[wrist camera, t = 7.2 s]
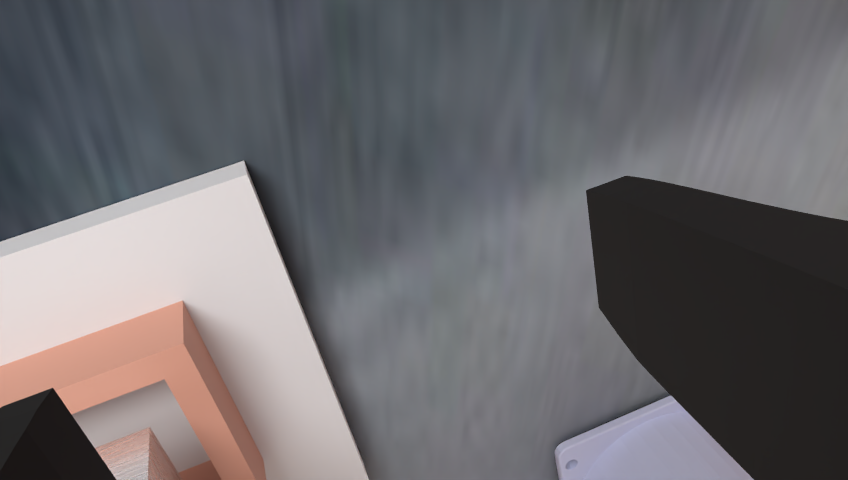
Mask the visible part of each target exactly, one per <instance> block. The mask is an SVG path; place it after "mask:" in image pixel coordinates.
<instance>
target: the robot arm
mask: <svg viewBox="0 0 848 480" xmlns="http://www.w3.org/2000/svg"><path fill="white" fill-rule="evenodd" d="M586 194H587V203H588V212H589V221H590V230H591V239H592V248H593V257H594V267H595V276H596V285H597V294H598V303H599V308H600V310H601V311H602V312H603V314H604V315H605V317H606V318H607V320H608V321H609V322H610V324H611V325H612V327H613V328H614V329H615V331H616V332H617V334H618V335H619V336H620V338H621V339H622V340H623V342H624V343H625V344H626V346H627V347H628V348H629V349H630V351H631V352H632V353H633V355H634V356H635V357H636V359H637V360H638V361H639V362H640V363H641V364H642V366H643V367H644V368H645V369H646V370H647V371H648V372H649V373H650V374H651V375H652V376H653V377H654V378H655V379H656V380H657V381H658V382H659V383H660V384H661V385H662V386H663V388H664V389H665V390H666V391H667V392H668V393H669V394H670V396H668V397H666V398H663V399H661V400H659V401H656V402H654V403H652V404H649V405H647V406H645V407H642V408H640V409H638V410H636V411H633V412H631V413H629V414H626V415H624V416H622V417H619V418H617V419H615V420H612V421H610V422H608V423H605V424H603V425H601V426H598V427H596V428H594V429H592V430H589V431H587V432H585V433H582V434H580V435H578V436H575V437H573V438H571V439H568V440H566V441H564V442H562V443H561V444H559V445H558V447H557V448H556V450H555V459H556V465H557V471H558V476H559V480H848V221H845V220H839V219H834V218H828V217H823V216H818V215H813V214H808V213H802V212H797V211H792V210H788V209H783V208H778V207H774V206H769V205H764V204H760V203H755V202H751V201H746V200H742V199H737V198H733V197H729V196H724V195H720V194H715V193H711V192H707V191H702V190H698V189H693V188H689V187H684V186H680V185H675V184H671V183H666V182H661V181H656V180H651V179H645V178H639V177H631V176H624V177H621V178H619V179H616V180H613V181H610V182H608V183H605V184H602V185H600V186H597V187H594V188H591V189H589V190H586ZM0 480H116V478H115V477H114V475H113V474H112V472H111V471H110V470H109V468H108V467H107V465H106V464H105V462H104V461H103V459H102V458H101V457H100V455H99V454H98V452H97V451H96V449H95V448H94V446H93V445H92V443H91V442H90V441H89V439H88V438H87V436H86V435H85V433H84V432H83V430H82V429H81V427H80V426H79V425H78V423H77V422H76V420H75V419H74V417H73V416H72V414H71V413H70V412H69V410H68V409H67V407H66V406H65V404H64V403H63V401H62V400H61V398H60V397H59V396H58V394H57V393H56V391H55V390H54V388H51V389H48V390H45V391H42V392H40V393H37V394H34V395H32V396H29V397H26V398H24V399H21V400H18V401H15V402H13V403H10V404H7V405H5V406H2V407H1V408H0Z"/></svg>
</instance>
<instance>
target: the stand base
mask: <svg viewBox="0 0 848 480" xmlns="http://www.w3.org/2000/svg"><path fill="white" fill-rule="evenodd" d="M51 388H54V390H55V391H56V393H57V394H58V396H59V397H60V398H61V400H62V401H63V403H64V404H65V406H66V407H67V409H68V410H69V412H70V413H71V414H72V416H73V417H74V419H75V420H76V422H77V423H78V425H79V426H80V427H81V429H82V430H83V432H84V433H85V435H86V436H87V438H88V439H89V441H90V442H91V443H92V445H93V446H94V448H96V447H99V446H101V445H104V444H106V443H109V442H112V441H114V440H117V439H119V438H122V437H124V436H127V435H130V434H132V433H135V432H137V431H140V430H143V429H145V428H148V427H150V428H151V429H152V431H153V433H154V434H155V436H156V437H157V439H158V441H159V442H160V444H161V446H162V447H163V449H164V451H165V452H166V454H167V455H168V457H169V459H170V460H171V462H172V464H173V465H174V467H175V468H176V470H177V472H178V473H179V475H180V477H181V478H182V480H369V478H368V475H367V472H366V469H365V466H364V463H363V460H362V458H361V455H360V452H359V450H358V447H357V445H356V442H355V440H354V437H353V435H352V432H351V430H350V427H349V425H348V422H347V420H346V417H345V415H344V412H343V410H342V407H341V404H340V402H339V399H338V397H337V394H336V392H335V389H334V387H333V384H332V382H331V379H330V377H329V374H328V372H327V369H326V367H325V364H324V362H323V359H322V356H321V354H320V351H319V349H318V346H317V344H316V341H315V339H314V336H313V334H312V331H311V329H310V326H309V324H308V321H307V319H306V316H305V314H304V311H303V309H302V306H301V303H300V301H299V298H298V296H297V293H296V291H295V288H294V286H293V283H292V281H291V278H290V276H289V273H288V271H287V268H286V266H285V263H284V261H283V258H282V255H281V253H280V250H279V248H278V245H277V243H276V240H275V238H274V235H273V233H272V230H271V228H270V225H269V223H268V220H267V218H266V215H265V213H264V210H263V207H262V205H261V202H260V200H259V197H258V195H257V192H256V190H255V187H254V185H253V182H252V180H251V177H250V175H249V172H248V170H247V167H246V165H245V162H244V161H242V162H239V163H236V164H232V165H229V166H226V167H223V168H220V169H217V170H214V171H211V172H208V173H205V174H202V175H199V176H196V177H193V178H190V179H187V180H184V181H181V182H178V183H175V184H172V185H169V186H166V187H163V188H160V189H157V190H154V191H151V192H148V193H145V194H142V195H139V196H136V197H133V198H130V199H127V200H124V201H121V202H118V203H115V204H112V205H109V206H106V207H103V208H100V209H97V210H94V211H91V212H88V213H85V214H82V215H79V216H76V217H73V218H70V219H67V220H64V221H61V222H58V223H55V224H52V225H49V226H46V227H43V228H40V229H37V230H34V231H31V232H28V233H25V234H22V235H19V236H16V237H13V238H10V239H7V240H4V241H1V242H0V408H1V407H2V406H5V405H7V404H10V403H13V402H15V401H18V400H21V399H24V398H26V397H29V396H32V395H34V394H37V393H40V392H42V391H45V390H48V389H51Z"/></svg>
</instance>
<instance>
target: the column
mask: <svg viewBox="0 0 848 480" xmlns="http://www.w3.org/2000/svg"><path fill="white" fill-rule="evenodd" d="M95 449H96V451H97V452H98V454H99V455H100V457H101V458H102V459H103V461H104V462H105V464H106V465H107V467H108V468H109V470H110V471H111V472H112V474H113V475H114V477H115V478H116V480H182V478H181V477H180V475H179V473H178V472H177V470H176V468H175V467H174V465H173V464H172V462H171V460H170V459H169V457H168V455H167V454H166V452H165V451H164V449H163V447H162V446H161V444H160V442H159V441H158V439H157V437H156V436H155V434H154V433H153V431H152V429H151V428H150V427H148V428H145V429H143V430H140V431H137V432H135V433H132V434H130V435H127V436H124V437H122V438H119V439H117V440H114V441H112V442H109V443H106V444H104V445H101V446H99V447H96V448H95Z"/></svg>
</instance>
